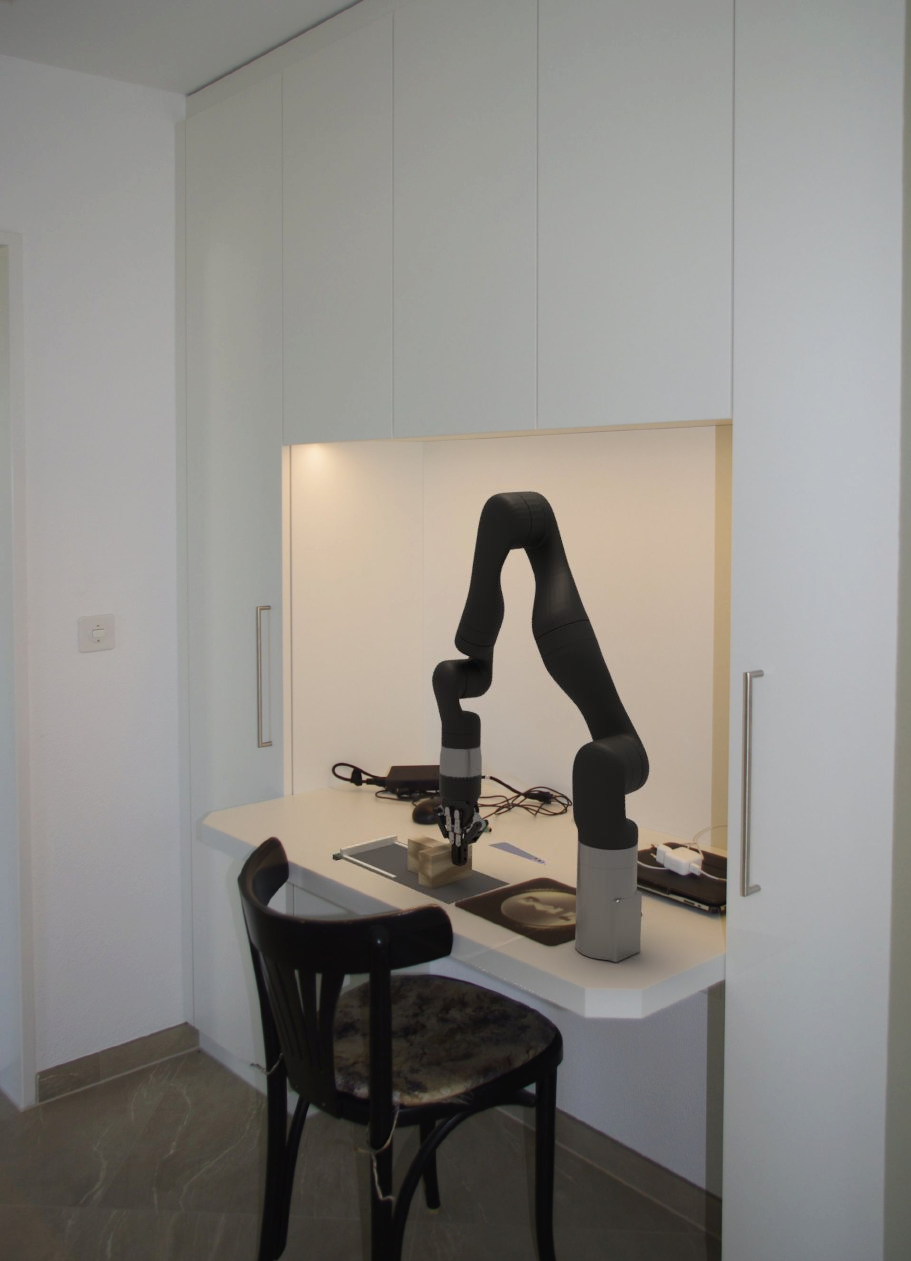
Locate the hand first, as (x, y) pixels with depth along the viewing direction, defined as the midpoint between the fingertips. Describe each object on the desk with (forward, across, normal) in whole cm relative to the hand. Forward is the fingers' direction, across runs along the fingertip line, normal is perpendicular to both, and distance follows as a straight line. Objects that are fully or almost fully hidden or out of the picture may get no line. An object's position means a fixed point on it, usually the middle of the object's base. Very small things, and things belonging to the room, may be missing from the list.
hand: (459, 864), depth 179 cm
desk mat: (+5, +12, 0) cm, 12 cm away
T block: (+4, +7, 0) cm, 8 cm away
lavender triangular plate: (+5, +7, -20) cm, 22 cm away
